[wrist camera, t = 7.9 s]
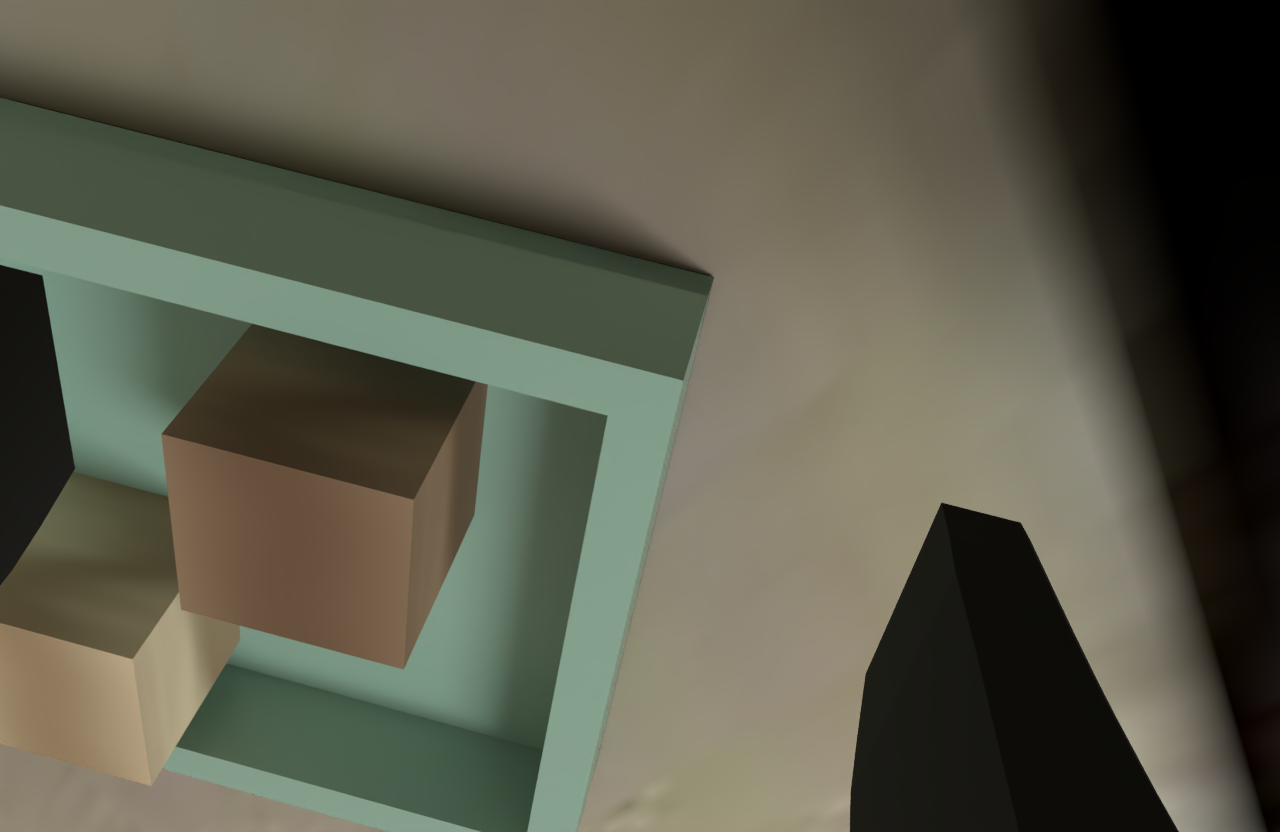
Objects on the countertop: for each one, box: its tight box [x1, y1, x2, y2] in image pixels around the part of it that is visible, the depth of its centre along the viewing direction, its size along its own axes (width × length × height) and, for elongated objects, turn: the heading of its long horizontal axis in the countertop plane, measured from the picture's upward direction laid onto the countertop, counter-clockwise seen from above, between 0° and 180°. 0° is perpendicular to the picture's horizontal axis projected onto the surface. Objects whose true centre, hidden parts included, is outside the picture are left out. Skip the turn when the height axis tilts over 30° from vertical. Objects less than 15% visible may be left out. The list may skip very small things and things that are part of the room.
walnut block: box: [161, 324, 488, 670], centre depth 21 cm, size 4×4×4 cm
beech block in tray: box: [0, 472, 240, 786], centre depth 25 cm, size 4×4×4 cm
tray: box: [0, 98, 714, 832], centre depth 24 cm, size 14×14×3 cm
